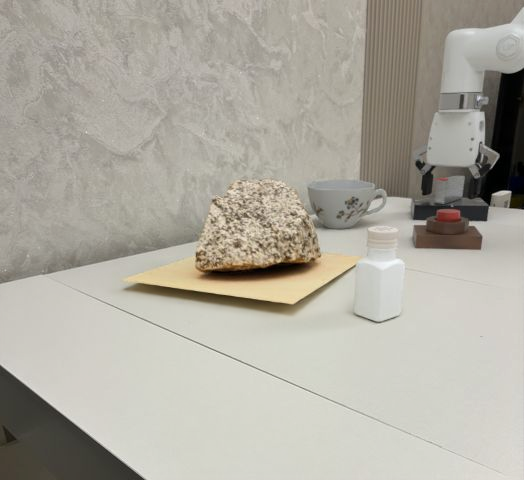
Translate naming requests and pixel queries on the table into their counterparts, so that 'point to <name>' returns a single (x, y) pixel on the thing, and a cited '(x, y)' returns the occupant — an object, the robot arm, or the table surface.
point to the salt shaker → (379, 276)
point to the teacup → (343, 201)
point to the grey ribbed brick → (449, 189)
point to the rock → (255, 248)
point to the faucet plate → (467, 208)
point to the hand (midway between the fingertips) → (449, 196)
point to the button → (448, 215)
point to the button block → (447, 235)
